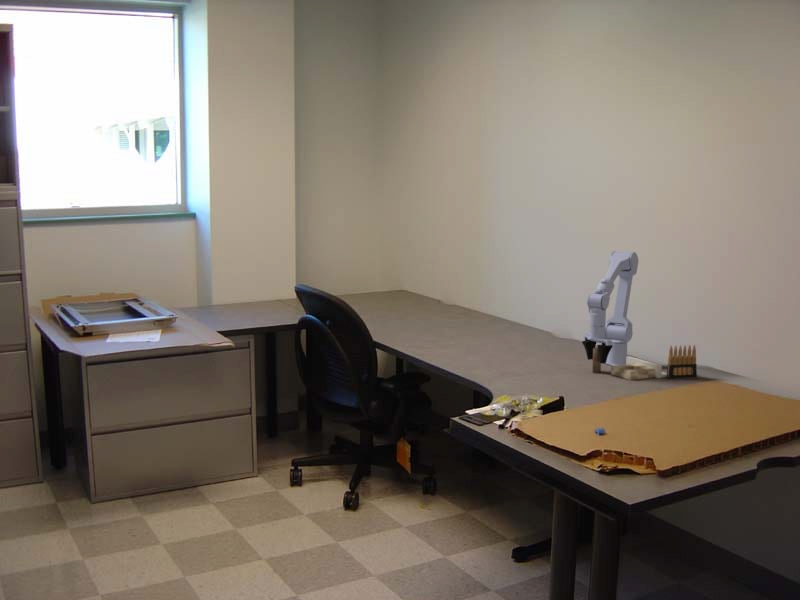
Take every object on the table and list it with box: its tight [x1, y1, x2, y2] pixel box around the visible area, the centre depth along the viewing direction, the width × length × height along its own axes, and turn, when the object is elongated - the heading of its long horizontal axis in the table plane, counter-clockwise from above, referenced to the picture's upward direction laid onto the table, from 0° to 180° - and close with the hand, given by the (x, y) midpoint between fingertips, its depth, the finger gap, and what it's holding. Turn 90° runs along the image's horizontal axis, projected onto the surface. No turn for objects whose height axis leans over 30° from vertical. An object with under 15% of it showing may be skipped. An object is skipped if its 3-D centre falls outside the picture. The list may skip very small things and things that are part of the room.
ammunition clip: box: [666, 344, 698, 380], centre depth 312 cm, size 11×2×12 cm, turn 97°
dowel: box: [592, 347, 602, 374], centre depth 322 cm, size 3×3×9 cm
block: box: [610, 363, 656, 381], centre depth 317 cm, size 11×11×3 cm
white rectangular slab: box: [626, 356, 667, 379], centre depth 322 cm, size 18×6×4 cm, turn 24°
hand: (596, 361), depth 322 cm, fingers open, 7 cm apart
